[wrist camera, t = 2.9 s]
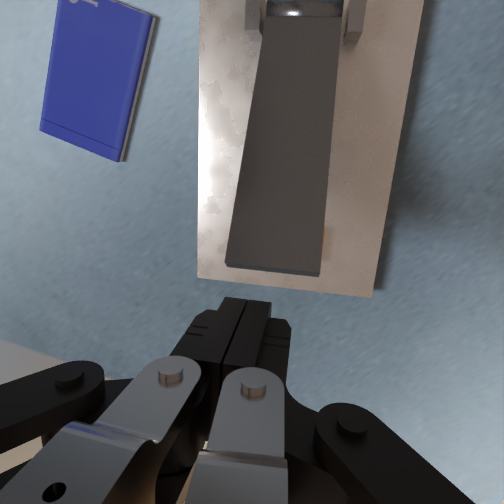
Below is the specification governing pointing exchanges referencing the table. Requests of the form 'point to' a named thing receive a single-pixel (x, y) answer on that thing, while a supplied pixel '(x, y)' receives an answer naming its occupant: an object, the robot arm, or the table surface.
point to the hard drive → (95, 74)
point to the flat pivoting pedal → (288, 141)
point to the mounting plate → (342, 146)
